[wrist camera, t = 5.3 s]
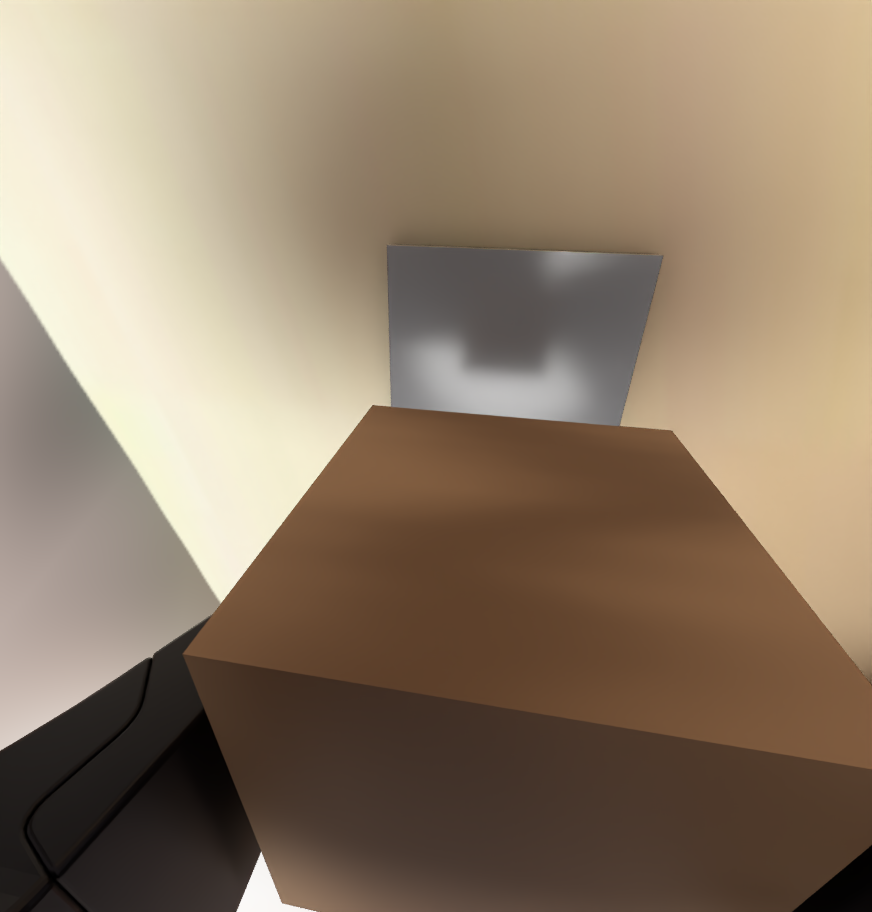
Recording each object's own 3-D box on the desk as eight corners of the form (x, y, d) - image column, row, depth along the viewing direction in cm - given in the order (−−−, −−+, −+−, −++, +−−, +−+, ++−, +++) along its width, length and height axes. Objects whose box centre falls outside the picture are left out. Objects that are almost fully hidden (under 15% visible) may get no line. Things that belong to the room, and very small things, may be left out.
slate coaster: (657, 254, 14) (663, 255, 13) (599, 484, 18) (602, 492, 18) (391, 244, 15) (386, 245, 15) (395, 464, 19) (392, 470, 19)
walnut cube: (671, 430, 7) (947, 780, 3) (604, 637, 9) (686, 999, 5) (372, 405, 7) (181, 654, 3) (382, 605, 10) (281, 902, 6)
